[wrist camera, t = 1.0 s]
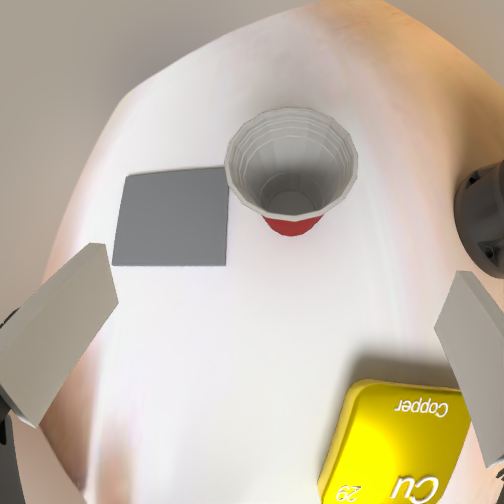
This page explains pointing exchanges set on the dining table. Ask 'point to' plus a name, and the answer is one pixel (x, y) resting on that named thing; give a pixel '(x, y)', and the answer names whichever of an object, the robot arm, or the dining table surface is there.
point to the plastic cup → (291, 167)
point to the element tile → (394, 444)
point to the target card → (173, 219)
